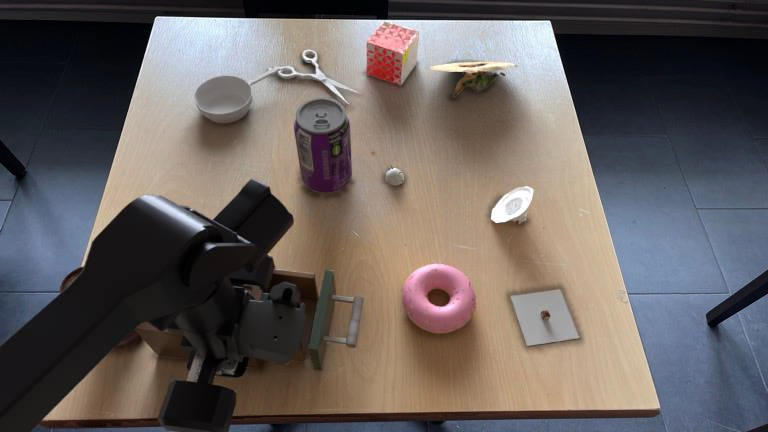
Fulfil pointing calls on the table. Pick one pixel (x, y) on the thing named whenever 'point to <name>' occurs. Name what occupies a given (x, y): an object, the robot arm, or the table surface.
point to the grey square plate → (544, 317)
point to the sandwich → (474, 74)
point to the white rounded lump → (394, 176)
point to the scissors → (314, 75)
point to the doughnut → (432, 315)
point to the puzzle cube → (392, 52)
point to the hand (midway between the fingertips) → (238, 363)
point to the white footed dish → (513, 205)
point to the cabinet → (170, 342)
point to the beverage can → (323, 144)
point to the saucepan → (227, 96)
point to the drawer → (319, 313)
